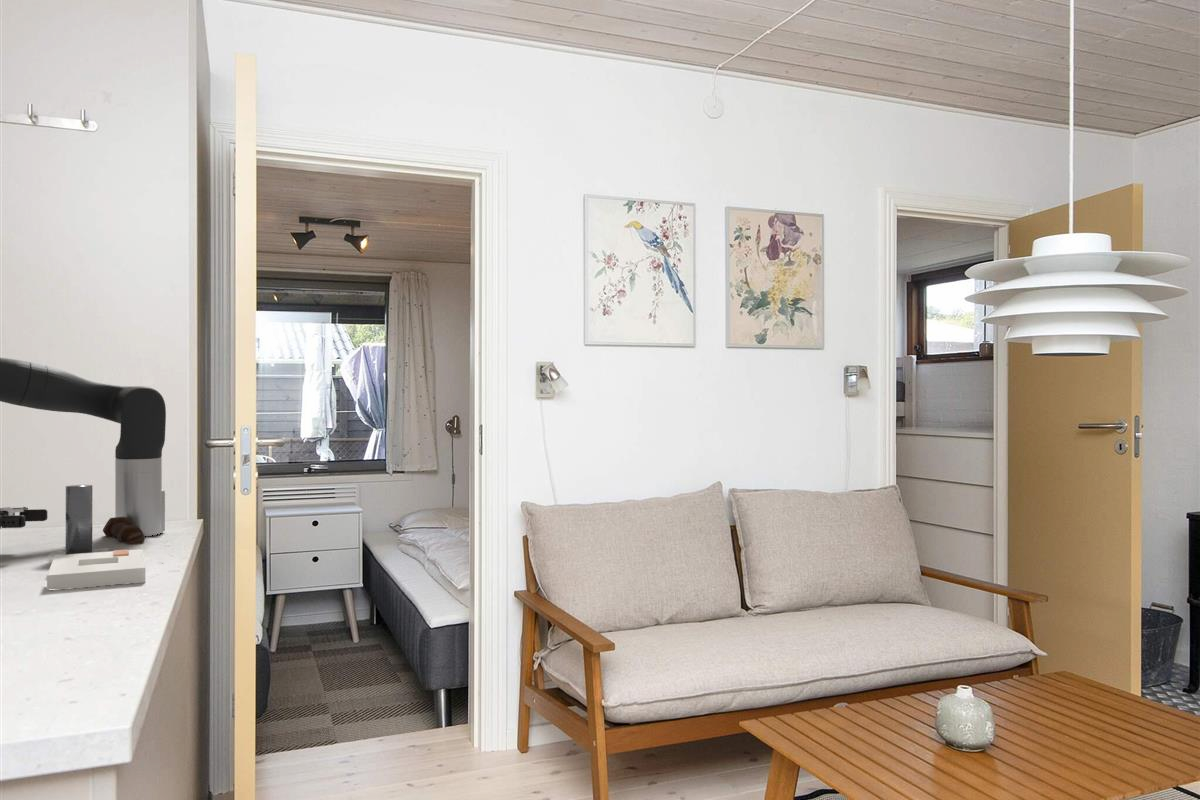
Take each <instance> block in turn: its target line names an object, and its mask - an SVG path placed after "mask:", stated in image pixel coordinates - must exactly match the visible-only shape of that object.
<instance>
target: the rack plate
mask: <svg viewBox="0 0 1200 800" xmlns="http://www.w3.org/2000/svg"><path fill="white" fill-rule="evenodd" d="M143 550H144V549H143V548H141V549H128V548H126V549H115V550H114V549H113V551H112V550H111V551H110V550H109V552H95V553H81V554H67V555H55V556H54V559H53V560H52V561H51V565H49V566H50V567H49V569H48V571H47V574H46V591H47V590H49V589H65V590H69V589H68V588H77V589H84V588H83V587H88V588H97V587H96V586H100V587H106V586H105V585H111V586H115V585H114V584H123V585H127V584H126V583H134V584H143V582H145V583H146V563H145V562H146V561H145V557H144V552H143Z"/></svg>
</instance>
